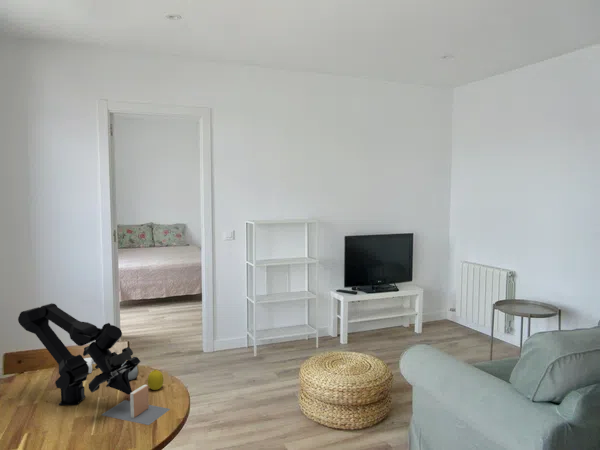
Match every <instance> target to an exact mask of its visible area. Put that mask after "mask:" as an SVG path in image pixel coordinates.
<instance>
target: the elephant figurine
mask: <svg viewBox="0 0 600 450" xmlns="http://www.w3.org/2000/svg"><path fill="white" fill-rule="evenodd" d="M83 359H84V360H85V361H86V362H87V363H86V364H87V365H88V367H89V372H88V374H91V373H92V372H93V365H96V363H95V362H94V361H93V359H92V358H91V357H85V358H84V357H83Z"/></svg>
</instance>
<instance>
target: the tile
mask: <svg viewBox="0 0 600 450" xmlns="http://www.w3.org/2000/svg"><path fill="white" fill-rule="evenodd" d="M129 401H130V406H131V418H135V417H136V416H138V415H139V414H141V413H142V412H144V411H145V410H146V409H148V408H149V405H150V404H149V386H148V384H143V385H141V386H140V387H138V388H136V389H135V390H132V392H131V393H130V394H129Z"/></svg>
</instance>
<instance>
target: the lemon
mask: <svg viewBox="0 0 600 450" xmlns="http://www.w3.org/2000/svg"><path fill="white" fill-rule="evenodd" d="M163 384H164V375H163V373H162V371H161V370H158V369H154V370H152V371H151V372H150V373H149V374H148V376H147V385H148V388H149V389H150V390H153V391H157V390H160V389H161V388H162V387H163Z"/></svg>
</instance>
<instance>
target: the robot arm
mask: <svg viewBox="0 0 600 450" xmlns="http://www.w3.org/2000/svg"><path fill="white" fill-rule="evenodd" d="M17 321H18V323H19V324H20V327H22V328H23V329H24V330H25V331H27V332H29V333H31V334H34V335H35V336H36V338H38V339H39V341H40V343H42V345H43V346H44V347H45V349H46V350H47V352H48V353H49V354H50V355H51V357H52V358H53V359H54V361H55V362H56V363H57V365H58V375H59V377H58V378H57V379H56V381H55V382H54V383H55V386H56V389H60V402H58V405H59V406H77V405H79V404H81V402H82V401H83V400H85V398H86V395H85V386H84V384H83V383H84V382H85V381H87V378H88V375H89V373H88V372H89V367H88V365H87V364H86V363H87V362H86V361H85V360H84V357H86V356H87V355H89V358H92V359H93V361H94V362H95V363H96V364H95V366H94V368H95V369H96V370H98V369H99V370H100V371H101V373H99V374H97V375H95V376H94V378H93V379H92V380H91V381H90V382H89V383H88V389H89V390H90V392H91V393H94V392H96V391H98V390H99V389H100V386H101V385H102V384H103V383H105V382H107V384H106V385H105V387H106V388H111V389H114V390H117V391H120V392H121V393H124V394H126V395H129V396H130V393H131V392H133V390H132V387H131V384H130V380H129V379H128V373H129V372H131V371H132V370H133V369H134V368H135V367H136V366H137V365H138V366H139V364H140V363H141V360H140V359H139V357H137V356H133V355H134V352H133V350H132V348H130V346H126V347H124V348H122V349H121V352H120V353H118V354H117V352H115V351H113V352H112V351H111V349H112V348H113V347H114V346H115V344H116V343H117V342H118V341H119V340H120V339H121V338H122V335H123V332H122V330H121V328H120V327H118V326H116V325H112V324H111V323H110V322H108V323H105V324H103V326H102V328H99V327H98V326H96V324H92V323H90V322H88V321H87V322H86V321H80V320H78V319H77V318H75V317H74V316H72V315H71V314H69V313H67V312H65V311H64V310H63V309H61V308H60V307H58V305H57V304H56V303H52V302H51V303H48V304H44V305H41V306H40V307H39V306H37V307H33V308H30V309H27V310H24V311H21V312H20V313H19V316H18V317H17ZM49 322H51V323H53V324H54V325H56V326H57V327H59V328H61V329H62V330H63V331H65V332H66V333H67V334H69V335H68V336H69V338H70V340H71V341H73V342H74V344H76V345H77V346H79V347H82V346H85V345H87V346H85V347H83V353H82V355H81V354H77V355H73V354H72V353H71V352H70V350H69V349H68V347H67V346H66V345H65V344H64V343H63V341H62V340H61V339H60V338H59V336H58V335H57V334H56V333H55V331H54V330H53V329H52V327H51V326H50V324H49ZM88 344H89V345H88ZM124 363H125V364H124ZM123 364H124V365H123ZM121 365H123V366H121ZM117 371H119V372H117Z"/></svg>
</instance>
